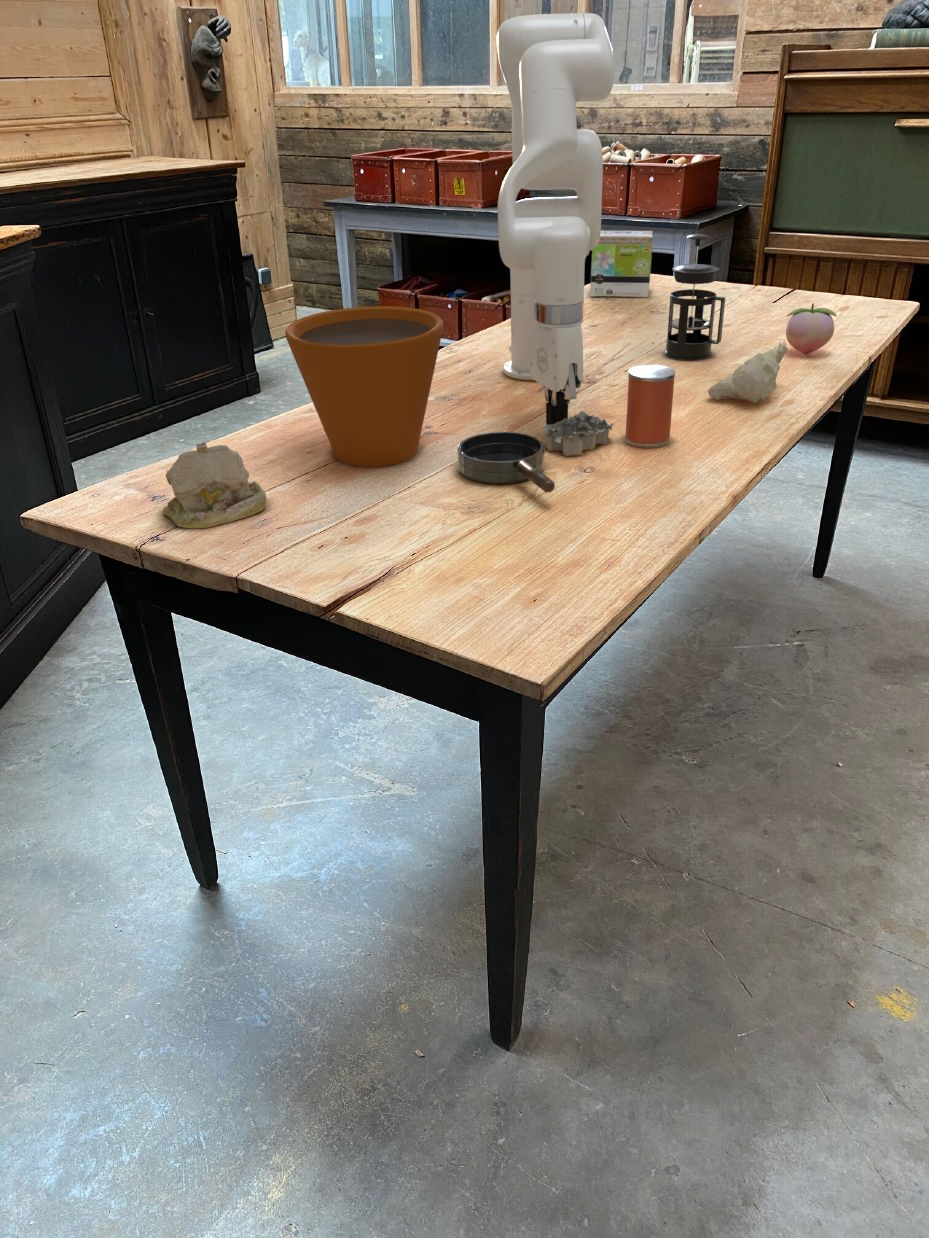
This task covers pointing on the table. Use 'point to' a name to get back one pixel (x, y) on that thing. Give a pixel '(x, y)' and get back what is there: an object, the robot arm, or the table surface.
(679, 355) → the french press
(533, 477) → the pan handle
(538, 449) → the black pan
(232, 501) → the ceramic model
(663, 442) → the tin can
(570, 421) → the egg carton
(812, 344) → the decorative fruit
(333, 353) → the flower pot
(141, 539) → the table surface
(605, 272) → the tea box
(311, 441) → the table surface
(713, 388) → the holed limestone rock
